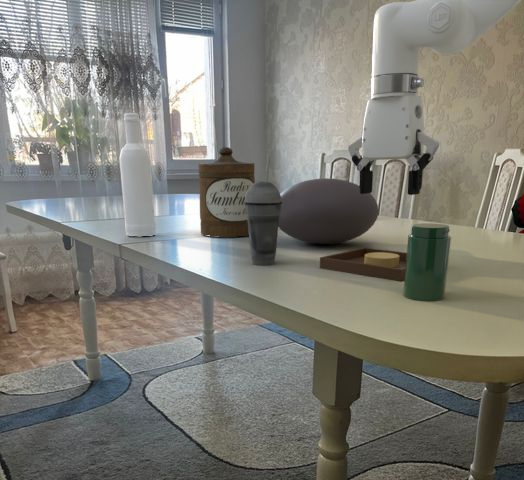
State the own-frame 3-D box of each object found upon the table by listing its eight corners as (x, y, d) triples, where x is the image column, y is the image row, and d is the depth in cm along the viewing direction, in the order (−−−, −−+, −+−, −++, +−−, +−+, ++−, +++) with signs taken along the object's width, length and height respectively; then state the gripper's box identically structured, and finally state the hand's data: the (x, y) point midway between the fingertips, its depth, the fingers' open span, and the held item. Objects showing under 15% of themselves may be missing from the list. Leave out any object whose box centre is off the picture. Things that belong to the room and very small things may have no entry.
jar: (450, 295, 83) (458, 224, 79) (434, 303, 78) (442, 229, 75) (413, 289, 86) (419, 222, 83) (396, 296, 82) (402, 226, 78)
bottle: (122, 237, 141) (110, 112, 131) (130, 233, 149) (119, 114, 139) (152, 237, 141) (143, 112, 131) (159, 233, 149) (150, 114, 138)
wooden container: (211, 239, 137) (207, 146, 130) (194, 232, 150) (189, 147, 143) (264, 235, 143) (264, 146, 135) (243, 229, 156) (242, 147, 148)
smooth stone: (377, 253, 117) (382, 181, 112) (263, 250, 121) (263, 180, 116) (375, 236, 140) (379, 176, 135) (280, 234, 144) (280, 176, 139)
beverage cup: (252, 258, 112) (251, 156, 105) (286, 260, 110) (287, 155, 103) (239, 265, 105) (237, 156, 99) (275, 267, 103) (275, 156, 96)
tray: (441, 267, 102) (442, 257, 101) (401, 281, 92) (402, 269, 91) (363, 257, 113) (364, 247, 112) (319, 267, 103) (319, 257, 102)
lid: (376, 260, 107) (377, 251, 106) (405, 264, 103) (406, 255, 102) (357, 264, 103) (357, 255, 102) (386, 269, 98) (387, 259, 98)
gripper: (452, 85, 89) (444, 193, 94) (362, 95, 100) (359, 191, 106) (431, 81, 84) (423, 196, 89) (339, 92, 95) (337, 194, 101)
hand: (389, 193), depth 98 cm, fingers open, 9 cm apart
